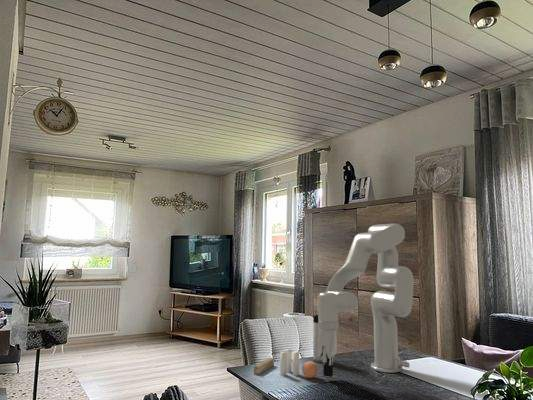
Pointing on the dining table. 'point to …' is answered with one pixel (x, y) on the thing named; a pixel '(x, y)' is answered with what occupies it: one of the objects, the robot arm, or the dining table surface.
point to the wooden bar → (263, 366)
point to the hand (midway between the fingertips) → (328, 375)
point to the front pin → (296, 363)
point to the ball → (310, 369)
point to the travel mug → (316, 340)
